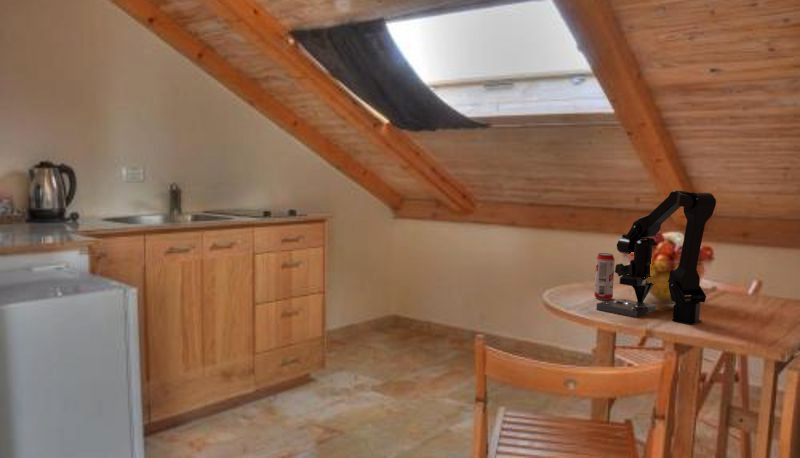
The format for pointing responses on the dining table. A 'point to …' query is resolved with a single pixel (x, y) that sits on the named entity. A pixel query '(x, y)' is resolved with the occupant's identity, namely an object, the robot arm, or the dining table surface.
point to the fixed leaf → (622, 308)
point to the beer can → (604, 276)
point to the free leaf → (631, 303)
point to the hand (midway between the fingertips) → (640, 303)
